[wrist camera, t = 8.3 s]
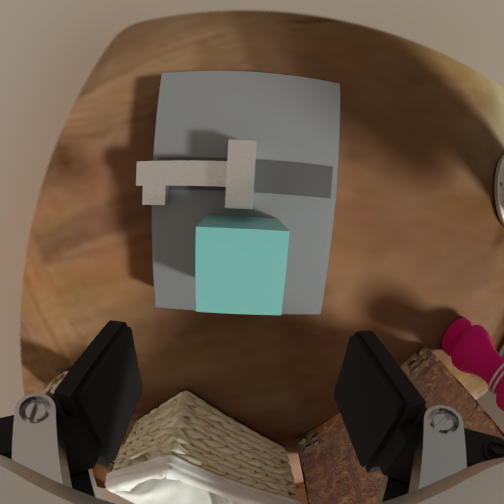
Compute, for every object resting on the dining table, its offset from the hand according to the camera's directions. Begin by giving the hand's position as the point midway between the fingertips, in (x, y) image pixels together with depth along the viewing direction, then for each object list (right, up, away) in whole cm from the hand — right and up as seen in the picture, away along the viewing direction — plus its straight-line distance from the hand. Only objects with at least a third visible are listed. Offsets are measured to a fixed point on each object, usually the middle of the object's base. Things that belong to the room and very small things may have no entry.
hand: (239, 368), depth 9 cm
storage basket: (-6, -26, +28) cm, 38 cm away
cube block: (-1, +4, +15) cm, 16 cm away
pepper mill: (+32, -9, +24) cm, 42 cm away
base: (0, +10, +18) cm, 20 cm away
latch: (-5, +11, +13) cm, 18 cm away
